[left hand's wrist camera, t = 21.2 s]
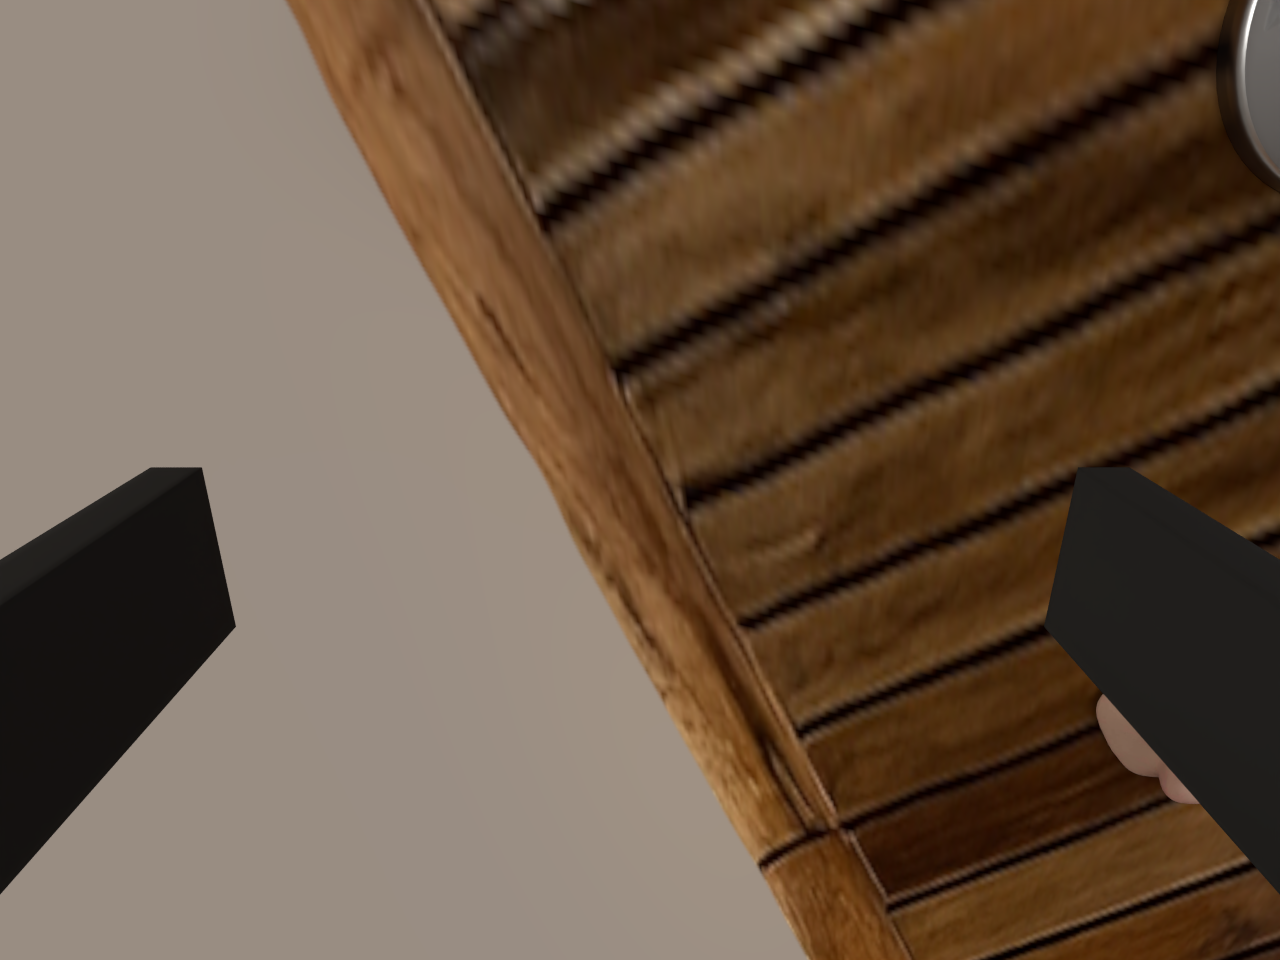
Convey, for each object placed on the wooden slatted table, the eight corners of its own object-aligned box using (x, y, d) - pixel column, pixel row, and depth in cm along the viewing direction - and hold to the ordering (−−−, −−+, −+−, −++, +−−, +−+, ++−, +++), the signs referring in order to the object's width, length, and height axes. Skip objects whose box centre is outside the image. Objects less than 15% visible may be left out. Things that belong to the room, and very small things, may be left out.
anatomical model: (1096, 775, 47) (1247, 631, 43) (1063, 730, 50) (1199, 594, 47) (1255, 866, 49) (1410, 738, 46) (1212, 817, 53) (1352, 695, 49)
